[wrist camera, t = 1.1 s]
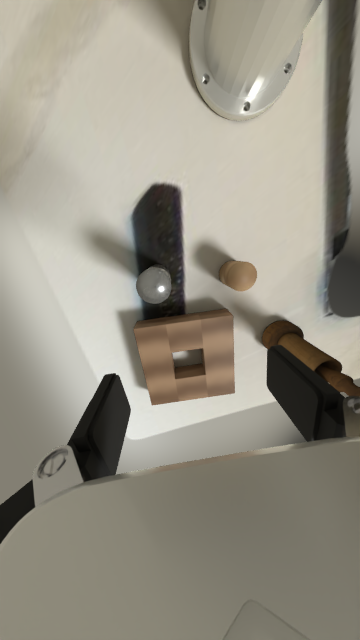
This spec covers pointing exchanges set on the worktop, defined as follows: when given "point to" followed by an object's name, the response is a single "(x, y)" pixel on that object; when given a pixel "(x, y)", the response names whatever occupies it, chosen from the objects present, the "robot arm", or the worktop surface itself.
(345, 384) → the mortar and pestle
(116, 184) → the worktop surface
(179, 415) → the worktop surface
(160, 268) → the long pin
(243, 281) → the short pin
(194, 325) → the hole plate
